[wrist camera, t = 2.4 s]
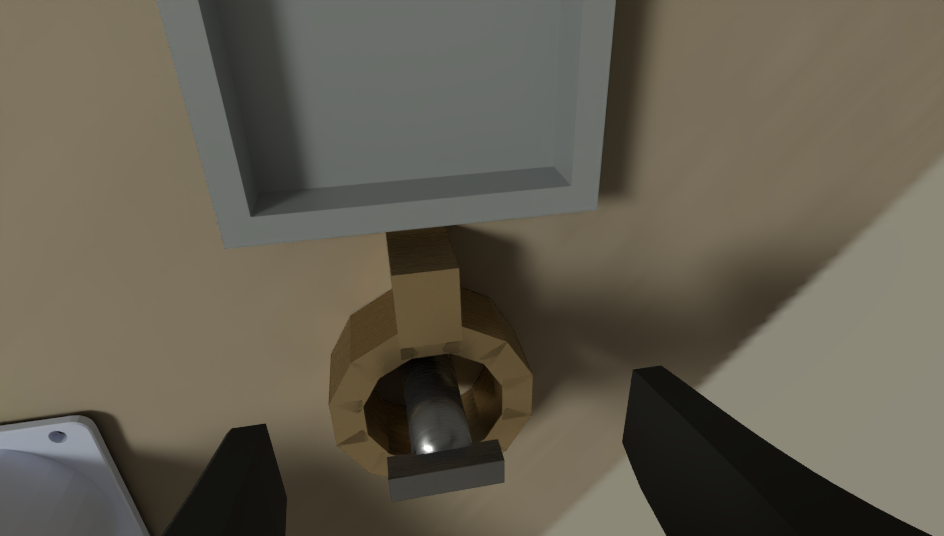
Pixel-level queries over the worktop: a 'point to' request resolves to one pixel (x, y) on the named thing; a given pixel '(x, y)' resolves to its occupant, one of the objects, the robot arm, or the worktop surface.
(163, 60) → the worktop surface
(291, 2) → the tray
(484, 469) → the bolt
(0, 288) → the worktop surface
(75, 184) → the worktop surface
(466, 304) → the ring
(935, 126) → the worktop surface
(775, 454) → the robot arm
